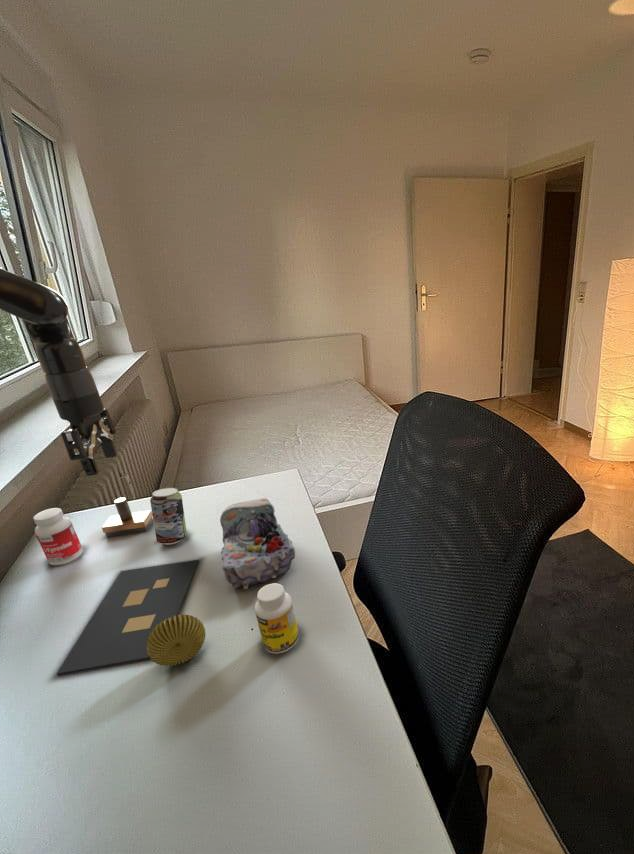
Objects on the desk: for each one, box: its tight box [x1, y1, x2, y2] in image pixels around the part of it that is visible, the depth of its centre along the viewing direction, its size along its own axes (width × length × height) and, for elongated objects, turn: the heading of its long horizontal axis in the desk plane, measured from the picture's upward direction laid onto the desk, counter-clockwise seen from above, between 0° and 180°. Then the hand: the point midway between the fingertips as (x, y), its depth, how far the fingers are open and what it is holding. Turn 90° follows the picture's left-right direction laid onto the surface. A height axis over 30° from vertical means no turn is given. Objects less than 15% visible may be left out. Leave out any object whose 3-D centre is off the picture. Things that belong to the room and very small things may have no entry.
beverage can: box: [149, 487, 188, 546], centre depth 97 cm, size 6×7×12 cm
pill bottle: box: [32, 507, 84, 566], centre depth 93 cm, size 6×6×11 cm
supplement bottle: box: [254, 582, 299, 654], centre depth 69 cm, size 6×6×10 cm
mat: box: [56, 559, 200, 676], centre depth 79 cm, size 15×24×1 cm, turn 10°
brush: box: [101, 496, 154, 538], centre depth 102 cm, size 9×5×8 cm, turn 100°
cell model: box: [219, 497, 296, 590], centre depth 88 cm, size 13×11×20 cm
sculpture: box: [147, 614, 207, 667], centre depth 67 cm, size 8×4×8 cm, turn 121°
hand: (102, 465), depth 94 cm, fingers open, 8 cm apart
